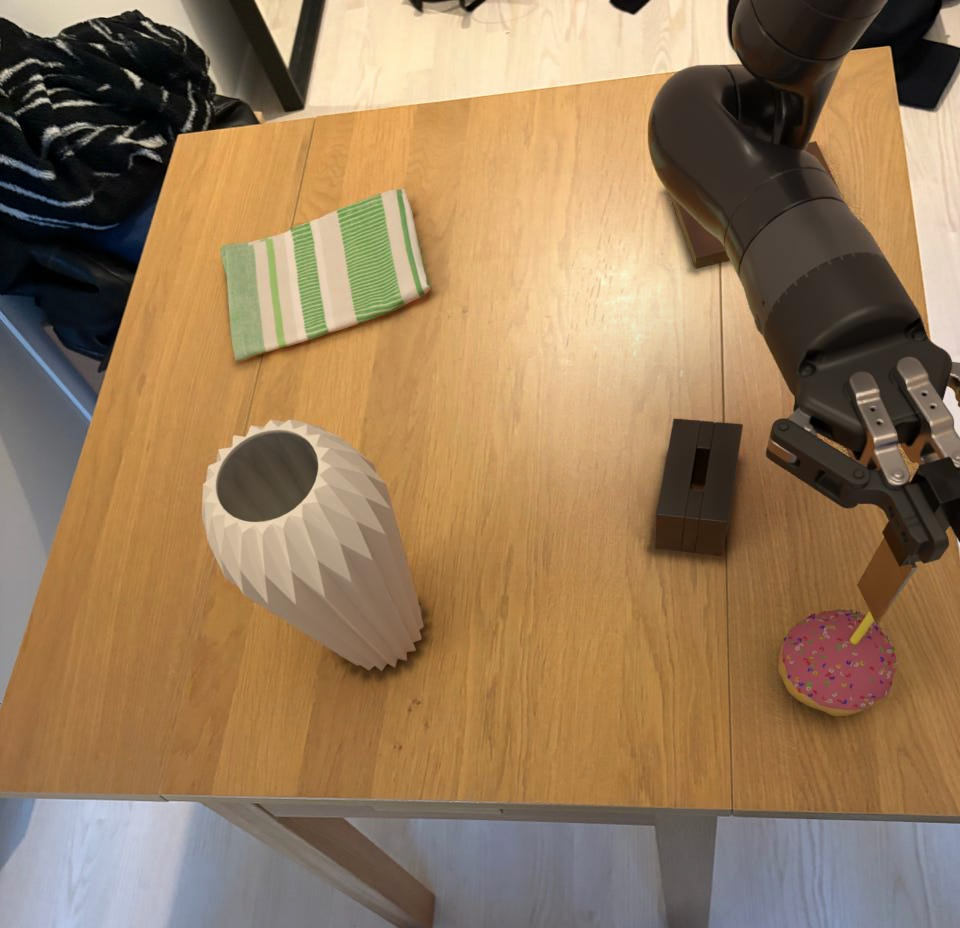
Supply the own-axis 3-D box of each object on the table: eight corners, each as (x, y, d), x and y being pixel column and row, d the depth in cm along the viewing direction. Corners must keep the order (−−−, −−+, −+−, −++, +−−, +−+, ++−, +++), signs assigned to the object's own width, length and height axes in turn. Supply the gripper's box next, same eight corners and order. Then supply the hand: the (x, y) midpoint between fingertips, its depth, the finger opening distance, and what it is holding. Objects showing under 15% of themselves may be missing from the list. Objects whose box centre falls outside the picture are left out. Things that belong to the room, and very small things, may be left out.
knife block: (735, 462, 77) (743, 423, 72) (721, 556, 74) (728, 522, 68) (671, 456, 79) (673, 417, 73) (654, 548, 75) (656, 514, 70)
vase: (427, 712, 73) (324, 582, 49) (295, 682, 77) (139, 547, 53) (468, 580, 78) (391, 402, 54) (341, 557, 81) (216, 381, 57)
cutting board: (813, 153, 90) (816, 140, 89) (849, 230, 85) (852, 218, 84) (668, 191, 92) (668, 179, 90) (695, 268, 87) (696, 257, 85)
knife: (870, 580, 55) (947, 450, 42) (889, 619, 54) (975, 499, 40) (847, 587, 55) (916, 460, 42) (865, 626, 54) (943, 508, 40)
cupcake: (815, 614, 70) (848, 547, 59) (903, 676, 67) (954, 618, 56) (750, 684, 69) (771, 629, 58) (836, 751, 66) (875, 706, 55)
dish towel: (226, 256, 100) (216, 238, 98) (409, 199, 98) (403, 179, 96) (239, 366, 93) (228, 349, 91) (436, 306, 91) (431, 287, 89)
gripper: (716, 290, 46) (842, 552, 39) (962, 213, 45) (1137, 467, 38) (706, 379, 53) (811, 616, 45) (919, 314, 52) (1061, 545, 44)
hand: (958, 547), depth 42 cm, fingers closed on knife, 1 cm apart
